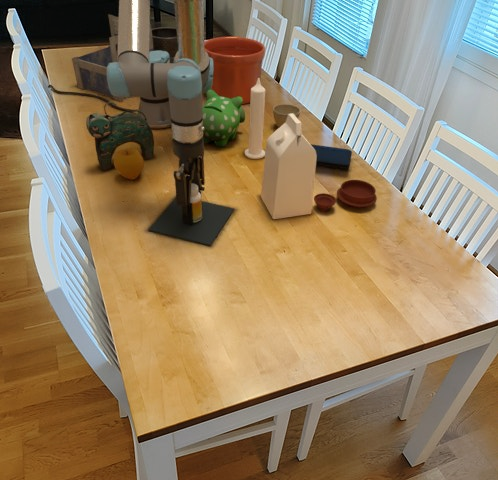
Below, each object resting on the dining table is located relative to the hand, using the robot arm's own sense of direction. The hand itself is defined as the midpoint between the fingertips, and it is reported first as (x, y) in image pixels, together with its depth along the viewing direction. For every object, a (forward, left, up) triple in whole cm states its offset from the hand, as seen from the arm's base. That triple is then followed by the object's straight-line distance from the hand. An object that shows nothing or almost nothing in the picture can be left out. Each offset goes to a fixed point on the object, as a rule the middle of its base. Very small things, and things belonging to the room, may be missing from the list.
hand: (192, 217), depth 126 cm
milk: (+22, +17, -1) cm, 28 cm away
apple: (-27, +14, -1) cm, 30 cm away
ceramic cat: (-33, +21, -1) cm, 40 cm away
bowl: (+8, +67, -1) cm, 67 cm away
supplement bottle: (0, 0, 0) cm, 0 cm away
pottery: (+38, +24, -1) cm, 45 cm away
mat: (0, 0, -1) cm, 1 cm away
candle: (+4, +43, -1) cm, 43 cm away
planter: (-58, +104, -1) cm, 119 cm away
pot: (-21, +89, -1) cm, 91 cm away
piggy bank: (-11, +49, -1) cm, 50 cm away
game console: (+28, +46, -1) cm, 54 cm away
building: (-69, +78, -1) cm, 104 cm away
